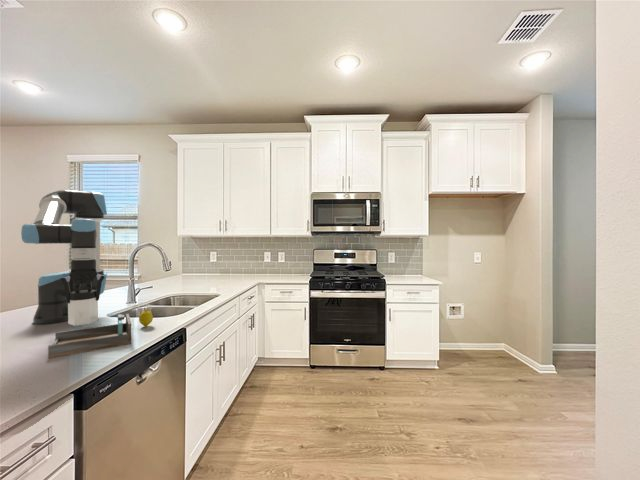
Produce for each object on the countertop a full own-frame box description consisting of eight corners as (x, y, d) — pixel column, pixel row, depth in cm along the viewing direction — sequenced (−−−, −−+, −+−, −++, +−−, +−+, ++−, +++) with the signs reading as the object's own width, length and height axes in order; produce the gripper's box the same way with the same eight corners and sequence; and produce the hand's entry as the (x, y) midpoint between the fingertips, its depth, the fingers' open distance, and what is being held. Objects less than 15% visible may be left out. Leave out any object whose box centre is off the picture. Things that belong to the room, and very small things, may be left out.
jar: (66, 327, 107) (65, 294, 107) (70, 321, 114) (69, 291, 113) (97, 323, 112) (96, 291, 112) (98, 318, 119) (98, 288, 118)
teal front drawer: (55, 342, 115) (55, 322, 115) (128, 331, 129) (128, 313, 129) (48, 358, 100) (48, 335, 100) (131, 343, 115) (131, 323, 114)
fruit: (155, 325, 138) (155, 308, 138) (145, 328, 133) (145, 311, 133) (146, 324, 140) (146, 307, 140) (136, 327, 135) (136, 310, 134)
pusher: (117, 331, 126) (117, 312, 126) (123, 330, 127) (123, 311, 127) (118, 341, 113) (118, 320, 113) (124, 340, 114) (124, 320, 114)
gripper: (55, 260, 105) (55, 325, 105) (108, 259, 114) (107, 319, 114) (58, 259, 111) (58, 321, 111) (108, 257, 120) (108, 315, 120)
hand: (83, 320), depth 113 cm, fingers open, 2 cm apart
